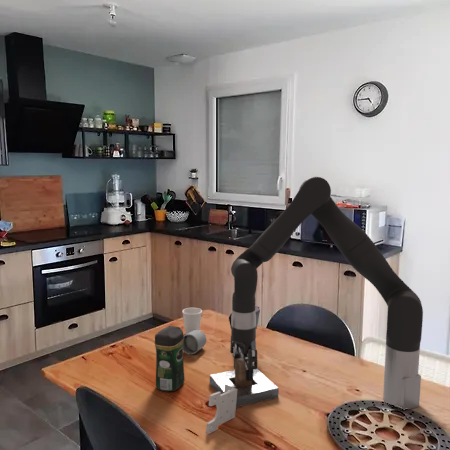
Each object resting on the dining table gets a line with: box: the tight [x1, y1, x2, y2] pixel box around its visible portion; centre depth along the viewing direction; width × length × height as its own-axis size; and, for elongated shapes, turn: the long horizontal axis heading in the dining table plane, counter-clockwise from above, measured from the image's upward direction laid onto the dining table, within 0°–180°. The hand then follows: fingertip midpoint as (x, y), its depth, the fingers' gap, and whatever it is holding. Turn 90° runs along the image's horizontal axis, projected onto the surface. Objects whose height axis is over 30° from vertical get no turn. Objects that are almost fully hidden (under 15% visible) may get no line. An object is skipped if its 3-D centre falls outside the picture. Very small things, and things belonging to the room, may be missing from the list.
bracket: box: [205, 384, 238, 435], centre depth 120 cm, size 11×4×10 cm, turn 141°
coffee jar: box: [154, 325, 185, 392], centre depth 140 cm, size 10×8×19 cm
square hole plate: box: [209, 368, 280, 408], centre depth 138 cm, size 16×16×3 cm
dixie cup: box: [181, 307, 203, 335], centre depth 185 cm, size 8×8×10 cm
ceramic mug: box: [183, 330, 207, 356], centre depth 169 cm, size 11×8×8 cm
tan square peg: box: [234, 357, 252, 388], centre depth 138 cm, size 4×4×10 cm
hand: (243, 374), depth 138 cm, fingers open, 8 cm apart
